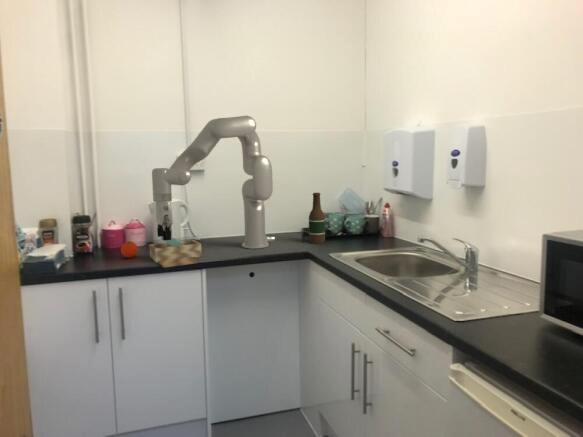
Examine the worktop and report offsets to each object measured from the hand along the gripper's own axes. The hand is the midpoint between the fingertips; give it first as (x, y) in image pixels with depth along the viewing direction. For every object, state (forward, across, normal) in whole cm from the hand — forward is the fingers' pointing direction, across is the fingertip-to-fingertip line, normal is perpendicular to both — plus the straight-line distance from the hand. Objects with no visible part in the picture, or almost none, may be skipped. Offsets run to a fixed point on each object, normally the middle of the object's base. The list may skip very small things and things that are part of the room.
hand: (164, 238), depth 197 cm
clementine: (+9, +10, +13) cm, 18 cm away
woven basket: (+8, 0, -5) cm, 10 cm away
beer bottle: (+8, -7, -71) cm, 72 cm away
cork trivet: (+9, -12, -2) cm, 15 cm away
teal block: (+4, 0, -4) cm, 6 cm away
